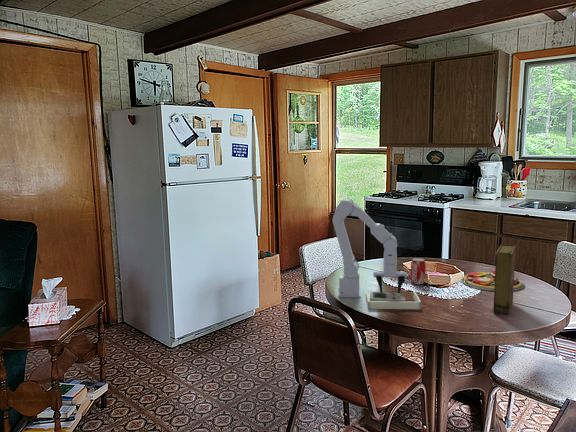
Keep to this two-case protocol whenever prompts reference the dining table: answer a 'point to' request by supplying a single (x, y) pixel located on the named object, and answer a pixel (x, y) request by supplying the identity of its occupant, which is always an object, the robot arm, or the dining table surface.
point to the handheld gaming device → (386, 297)
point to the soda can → (418, 270)
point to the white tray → (393, 303)
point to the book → (504, 279)
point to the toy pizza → (487, 281)
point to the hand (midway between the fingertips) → (389, 292)
